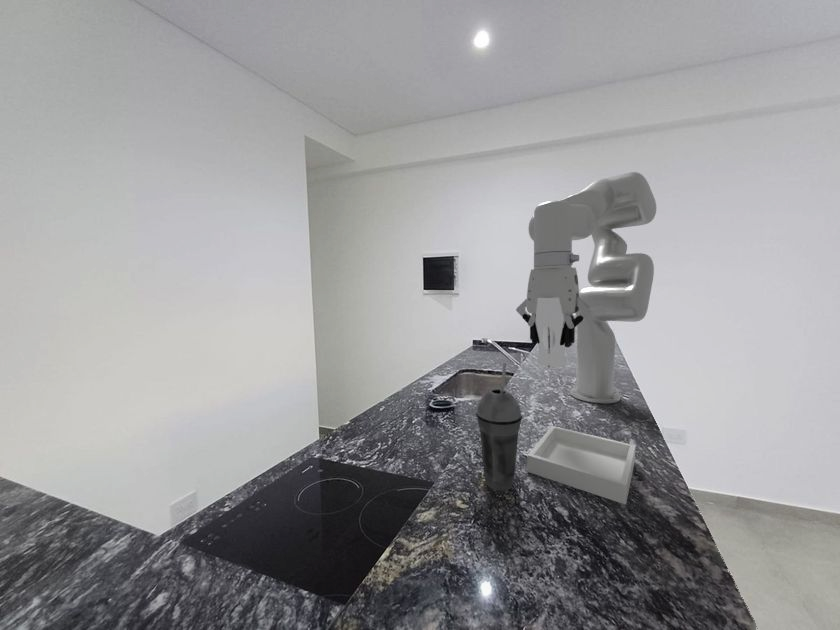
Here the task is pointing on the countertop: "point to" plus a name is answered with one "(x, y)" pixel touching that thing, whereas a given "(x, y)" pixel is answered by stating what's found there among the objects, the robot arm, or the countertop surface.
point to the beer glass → (550, 332)
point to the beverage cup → (499, 435)
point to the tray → (584, 462)
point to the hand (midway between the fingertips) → (551, 344)
